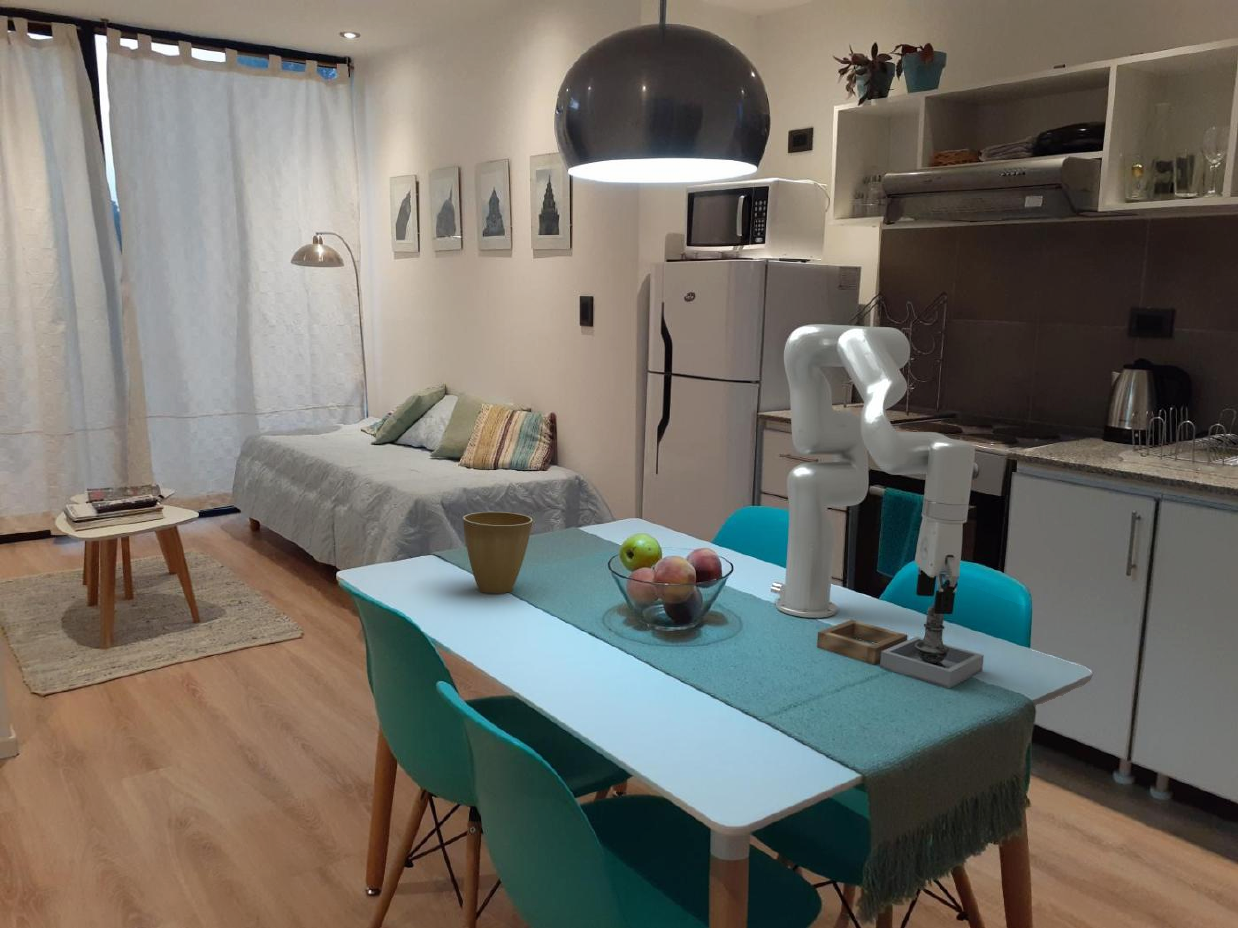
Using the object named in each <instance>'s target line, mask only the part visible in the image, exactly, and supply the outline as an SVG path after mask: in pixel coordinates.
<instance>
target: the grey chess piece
mask: <svg viewBox="0 0 1238 928" xmlns="http://www.w3.org/2000/svg"><path fill="white" fill-rule="evenodd" d="M933 610H934V605H931V606H929V607H928V608H927V610H926V611H927V612H926V621H925V623H924V624H923V627H924V636H923V638H924V639H923V641H922V642H917V643H916V644H915V646H916V648H917V650H916V651H917V654H918V656H919V657H920V658H921V659H922V660H919V661H923V662H926V663H929V664H933V665H936V666H940V667H943V668H946V667H945V665H943V664H942V663H941V661H943V660H944V659H945V658H946V656H947V652H949V648H948V647H947V646H945V645H943V644H944V643H943V634H944V633H943V631H944V630H945V628H946V627H945V626H944V616H945V614H936V613H934V611H933Z"/></svg>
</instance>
